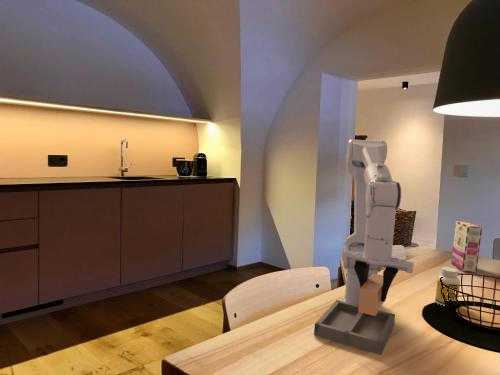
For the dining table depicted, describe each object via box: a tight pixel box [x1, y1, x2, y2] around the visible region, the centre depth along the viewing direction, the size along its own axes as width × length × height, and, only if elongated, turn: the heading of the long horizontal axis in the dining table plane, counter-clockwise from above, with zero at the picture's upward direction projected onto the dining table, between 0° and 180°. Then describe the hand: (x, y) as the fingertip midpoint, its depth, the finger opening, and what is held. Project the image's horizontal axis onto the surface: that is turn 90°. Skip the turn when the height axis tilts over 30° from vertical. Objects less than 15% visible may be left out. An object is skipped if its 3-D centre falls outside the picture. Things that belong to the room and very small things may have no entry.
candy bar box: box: [450, 220, 483, 273], centre depth 139 cm, size 11×5×16 cm, turn 172°
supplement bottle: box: [434, 266, 461, 307], centre depth 104 cm, size 5×5×10 cm
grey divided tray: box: [313, 299, 396, 356], centre depth 86 cm, size 16×14×2 cm
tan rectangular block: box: [358, 273, 387, 316], centre depth 84 cm, size 12×4×5 cm, turn 150°
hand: (373, 298), depth 84 cm, fingers closed on tan rectangular block, 3 cm apart
